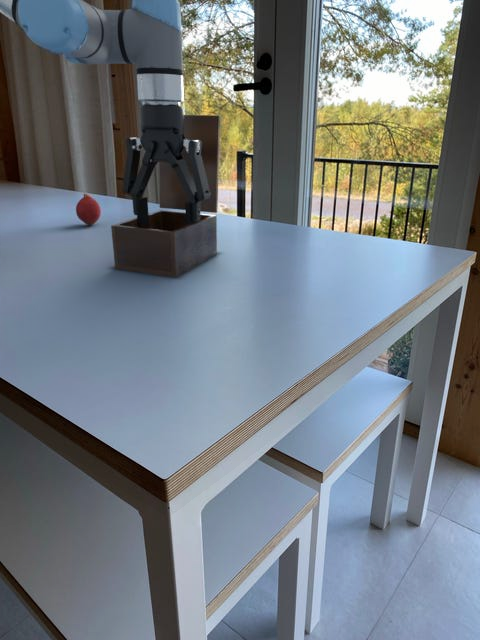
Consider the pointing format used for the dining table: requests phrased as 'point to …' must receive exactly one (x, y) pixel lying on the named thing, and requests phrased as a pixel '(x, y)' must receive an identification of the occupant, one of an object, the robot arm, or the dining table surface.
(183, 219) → the chest
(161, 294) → the dining table surface
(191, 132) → the chest lid
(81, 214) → the onion
